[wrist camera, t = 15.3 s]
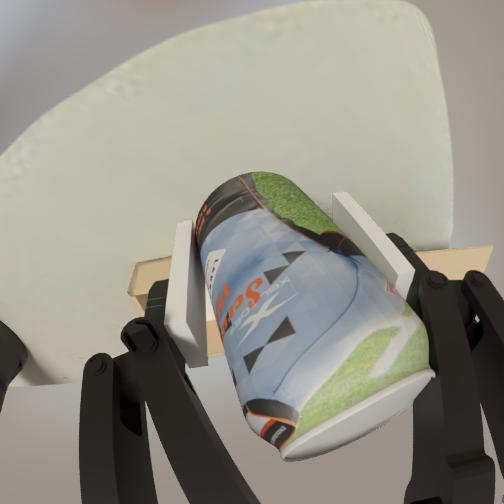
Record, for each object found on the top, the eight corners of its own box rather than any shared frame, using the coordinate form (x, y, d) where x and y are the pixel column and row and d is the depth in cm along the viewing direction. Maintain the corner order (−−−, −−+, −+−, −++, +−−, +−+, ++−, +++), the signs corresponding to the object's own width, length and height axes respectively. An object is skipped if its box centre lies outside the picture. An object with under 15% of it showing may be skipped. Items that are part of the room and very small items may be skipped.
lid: (463, 315, 30) (462, 313, 30) (493, 246, 23) (491, 243, 23) (329, 336, 33) (329, 333, 33) (335, 262, 26) (334, 258, 26)
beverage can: (188, 170, 14) (158, 429, 4) (331, 160, 14) (499, 341, 4) (205, 270, 17) (216, 481, 8) (322, 256, 18) (407, 436, 8)
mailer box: (172, 333, 37) (169, 361, 33) (136, 263, 30) (127, 291, 26) (319, 307, 37) (328, 334, 33) (319, 228, 30) (334, 254, 26)
